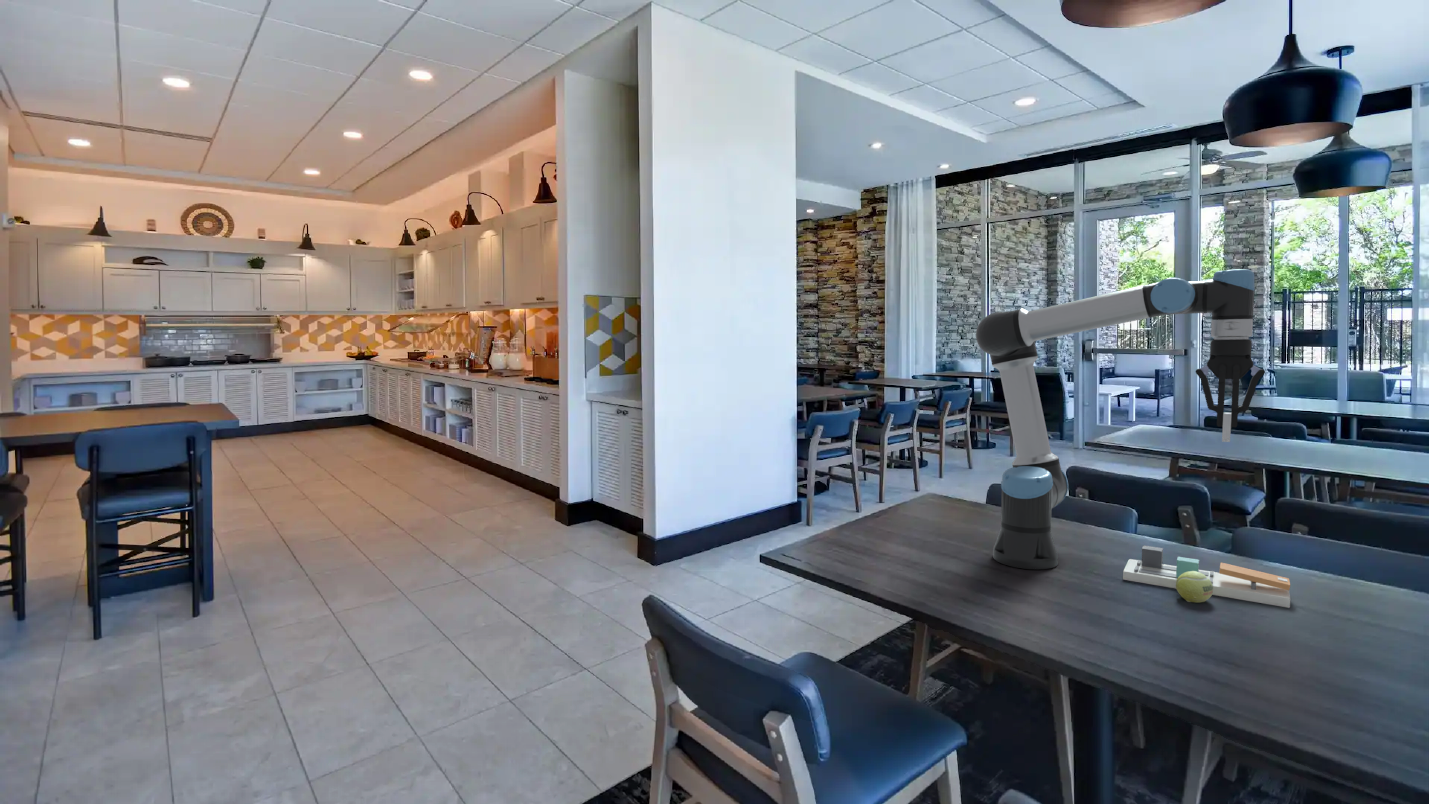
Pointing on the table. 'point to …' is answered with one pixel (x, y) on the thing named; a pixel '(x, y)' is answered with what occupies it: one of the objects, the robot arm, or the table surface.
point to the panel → (1220, 582)
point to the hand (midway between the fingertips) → (1226, 441)
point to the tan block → (1254, 576)
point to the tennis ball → (1194, 586)
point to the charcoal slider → (1152, 556)
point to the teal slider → (1186, 565)
